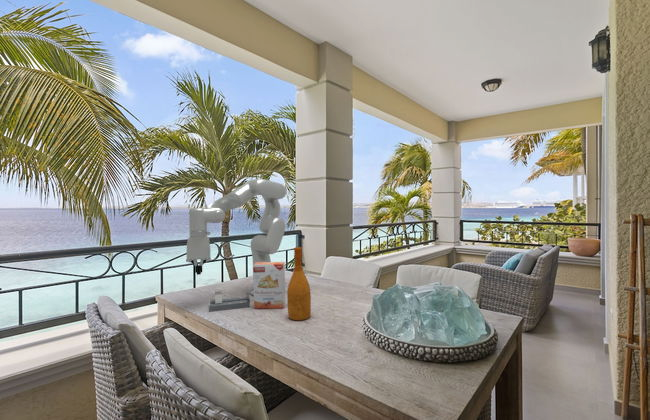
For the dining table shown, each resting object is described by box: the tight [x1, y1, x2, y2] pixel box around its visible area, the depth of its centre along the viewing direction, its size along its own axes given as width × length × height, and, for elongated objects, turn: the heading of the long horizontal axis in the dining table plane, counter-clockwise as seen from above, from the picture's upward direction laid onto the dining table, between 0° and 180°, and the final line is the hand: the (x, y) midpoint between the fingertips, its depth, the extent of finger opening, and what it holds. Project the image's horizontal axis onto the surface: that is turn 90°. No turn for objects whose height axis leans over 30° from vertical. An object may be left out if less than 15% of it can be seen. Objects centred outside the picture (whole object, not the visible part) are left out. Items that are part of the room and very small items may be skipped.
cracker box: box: [252, 261, 286, 310], centre depth 147 cm, size 14×6×21 cm, turn 90°
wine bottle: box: [286, 246, 312, 321], centre depth 133 cm, size 10×10×30 cm
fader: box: [214, 290, 223, 304], centre depth 148 cm, size 3×5×5 cm, turn 17°
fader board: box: [208, 292, 251, 313], centre depth 149 cm, size 18×10×4 cm, turn 107°
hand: (198, 274), depth 145 cm, fingers closed
